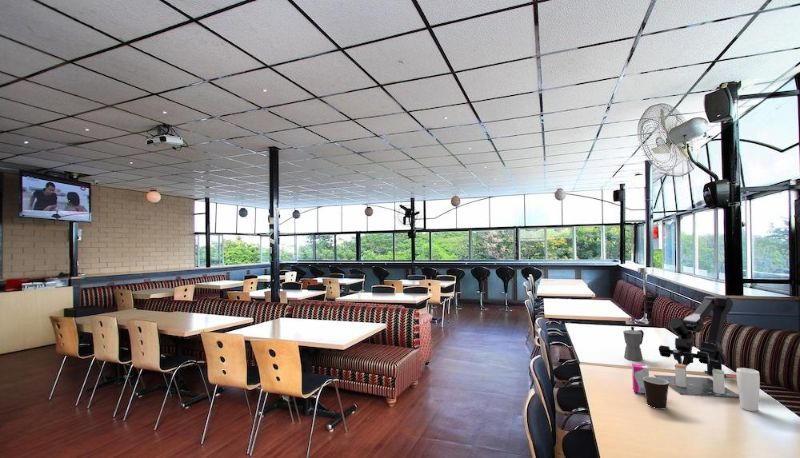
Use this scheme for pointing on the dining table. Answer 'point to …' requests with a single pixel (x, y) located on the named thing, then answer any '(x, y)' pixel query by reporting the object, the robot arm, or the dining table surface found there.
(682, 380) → the terracotta slider
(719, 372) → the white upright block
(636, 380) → the supplement box
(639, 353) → the coffeepot
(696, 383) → the switch panel
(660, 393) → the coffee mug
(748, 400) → the white rounded cylinder
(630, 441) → the dining table surface
